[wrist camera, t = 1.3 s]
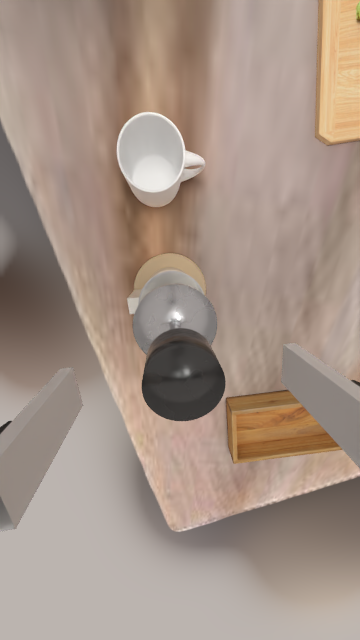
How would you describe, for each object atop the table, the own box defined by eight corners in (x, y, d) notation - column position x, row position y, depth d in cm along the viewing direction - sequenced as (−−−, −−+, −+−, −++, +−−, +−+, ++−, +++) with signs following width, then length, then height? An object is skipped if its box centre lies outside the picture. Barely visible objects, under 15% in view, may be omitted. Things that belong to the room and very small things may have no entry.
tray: (227, 445, 56) (234, 466, 51) (225, 396, 52) (232, 413, 47) (342, 429, 57) (360, 447, 52) (349, 379, 53) (370, 394, 48)
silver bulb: (127, 287, 21) (90, 322, 11) (213, 279, 21) (260, 304, 11) (140, 364, 24) (120, 455, 13) (216, 356, 24) (257, 437, 13)
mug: (200, 205, 39) (213, 189, 29) (133, 210, 39) (121, 194, 28) (198, 149, 37) (211, 108, 26) (126, 152, 36) (111, 113, 26)
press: (129, 256, 41) (112, 258, 28) (203, 250, 41) (220, 248, 29) (139, 327, 45) (129, 356, 32) (206, 320, 46) (223, 346, 33)
